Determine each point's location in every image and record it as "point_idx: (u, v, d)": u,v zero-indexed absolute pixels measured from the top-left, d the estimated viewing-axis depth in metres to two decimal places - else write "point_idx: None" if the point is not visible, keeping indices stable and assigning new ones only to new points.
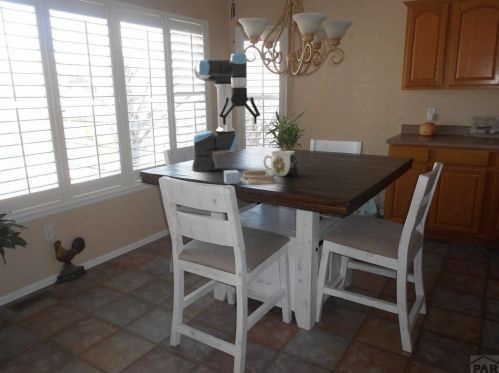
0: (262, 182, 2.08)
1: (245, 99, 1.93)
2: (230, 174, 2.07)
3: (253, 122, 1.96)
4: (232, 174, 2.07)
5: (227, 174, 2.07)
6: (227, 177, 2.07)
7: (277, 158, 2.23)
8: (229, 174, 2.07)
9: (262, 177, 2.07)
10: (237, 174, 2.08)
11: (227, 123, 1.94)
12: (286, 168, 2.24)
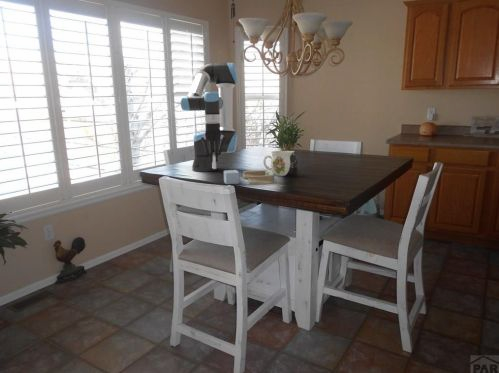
0: (262, 182, 2.08)
1: (218, 134, 2.03)
2: (230, 174, 2.07)
3: (214, 160, 2.05)
4: (232, 174, 2.07)
5: (227, 174, 2.07)
6: (227, 177, 2.07)
7: (277, 158, 2.23)
8: (229, 174, 2.07)
9: (262, 177, 2.07)
10: (237, 174, 2.08)
11: (214, 161, 2.05)
12: (286, 168, 2.24)
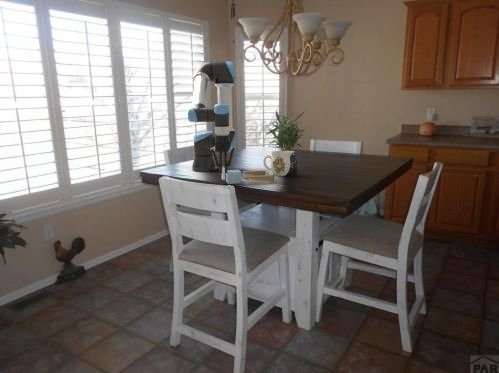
0: (262, 182, 2.08)
1: (228, 145, 2.06)
2: (232, 174, 2.07)
3: (223, 172, 2.08)
4: (234, 174, 2.07)
5: (229, 174, 2.07)
6: (229, 177, 2.07)
7: (277, 158, 2.23)
8: (231, 174, 2.07)
9: (262, 177, 2.07)
10: (239, 174, 2.08)
11: (223, 172, 2.08)
12: (286, 168, 2.24)
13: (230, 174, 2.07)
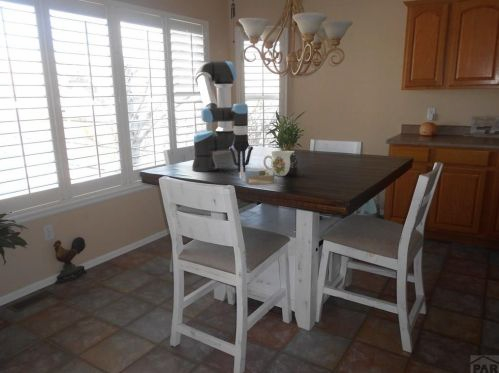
0: (262, 182, 2.08)
1: (246, 144, 2.08)
2: (250, 173, 2.09)
3: (242, 171, 2.10)
4: (252, 173, 2.09)
5: (247, 173, 2.09)
6: (247, 176, 2.09)
7: (277, 158, 2.23)
8: (249, 173, 2.09)
9: (262, 177, 2.07)
10: (258, 173, 2.10)
11: (241, 171, 2.10)
12: (286, 168, 2.24)
13: (248, 173, 2.09)
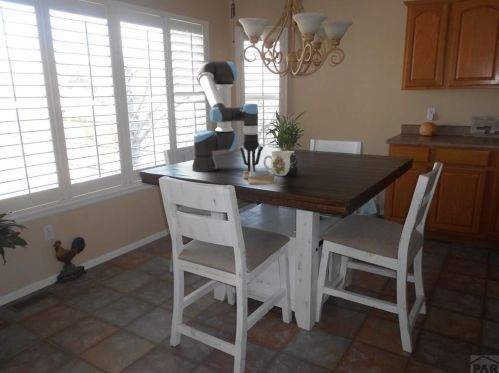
0: (262, 182, 2.08)
1: (256, 144, 2.09)
2: (260, 172, 2.10)
3: (252, 170, 2.11)
4: (262, 172, 2.11)
5: (258, 172, 2.10)
6: (257, 175, 2.10)
7: (277, 158, 2.23)
8: (259, 172, 2.10)
9: (262, 177, 2.07)
10: (268, 172, 2.11)
11: (251, 170, 2.11)
12: (286, 168, 2.24)
13: (258, 172, 2.10)
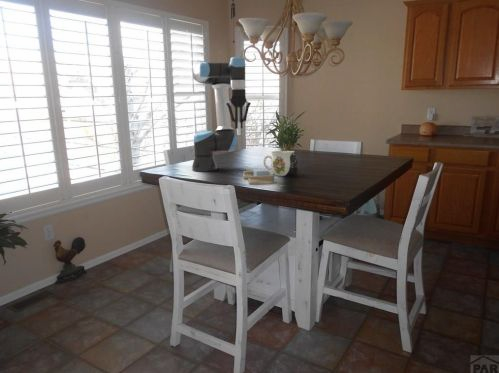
0: (262, 182, 2.08)
1: (243, 100, 2.04)
2: (260, 172, 2.10)
3: (239, 127, 2.07)
4: (262, 172, 2.11)
5: (258, 172, 2.10)
6: (257, 175, 2.10)
7: (277, 158, 2.23)
8: (259, 172, 2.10)
9: (262, 177, 2.07)
10: (268, 172, 2.11)
11: (239, 127, 2.07)
12: (286, 168, 2.24)
13: (258, 173, 2.10)
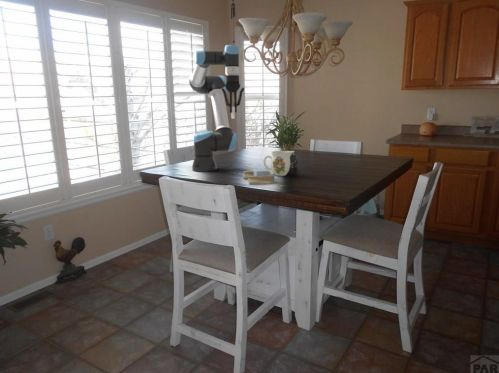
0: (262, 182, 2.08)
1: (237, 85, 2.18)
2: (260, 172, 2.10)
3: (233, 111, 2.20)
4: (262, 172, 2.11)
5: (258, 172, 2.10)
6: (258, 175, 2.10)
7: (277, 158, 2.23)
8: (260, 172, 2.10)
9: (262, 177, 2.07)
10: (268, 172, 2.11)
11: (233, 111, 2.20)
12: (286, 168, 2.24)
13: (258, 173, 2.10)
